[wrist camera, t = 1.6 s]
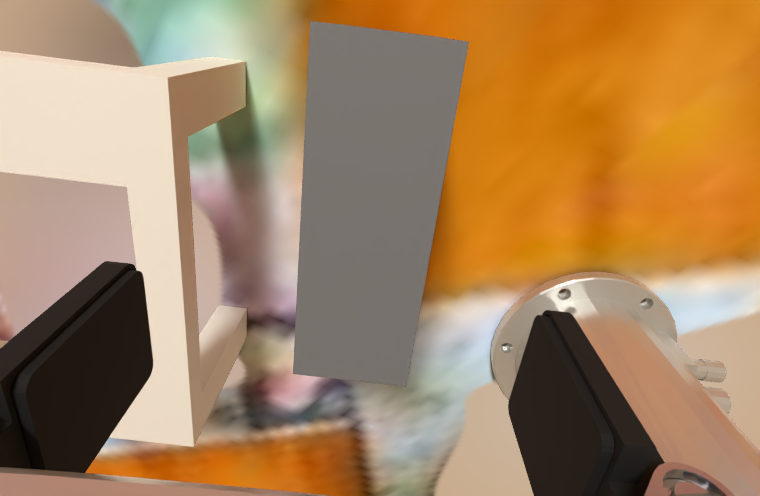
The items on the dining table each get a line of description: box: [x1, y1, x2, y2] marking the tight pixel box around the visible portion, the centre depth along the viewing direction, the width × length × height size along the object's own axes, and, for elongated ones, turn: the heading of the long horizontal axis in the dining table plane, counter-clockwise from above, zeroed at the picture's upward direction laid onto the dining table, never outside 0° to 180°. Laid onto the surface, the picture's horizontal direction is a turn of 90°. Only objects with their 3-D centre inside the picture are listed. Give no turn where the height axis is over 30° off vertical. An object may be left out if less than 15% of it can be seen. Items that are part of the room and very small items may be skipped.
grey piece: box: [293, 21, 469, 387], centre depth 23 cm, size 14×5×12 cm, turn 173°
